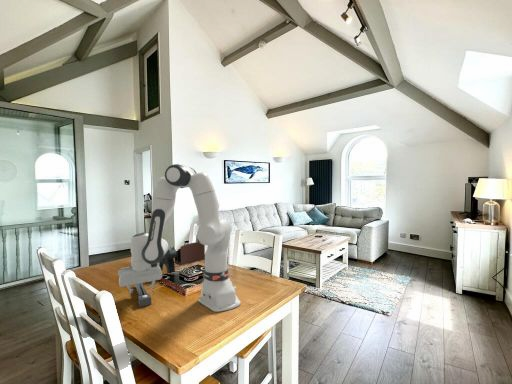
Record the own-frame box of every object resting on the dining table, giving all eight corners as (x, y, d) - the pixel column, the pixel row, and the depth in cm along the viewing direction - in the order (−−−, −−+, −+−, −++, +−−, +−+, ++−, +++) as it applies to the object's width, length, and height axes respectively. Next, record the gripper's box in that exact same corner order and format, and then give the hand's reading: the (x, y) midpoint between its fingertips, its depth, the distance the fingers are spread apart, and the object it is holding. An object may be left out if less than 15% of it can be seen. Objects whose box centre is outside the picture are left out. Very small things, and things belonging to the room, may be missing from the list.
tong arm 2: (147, 299, 129) (147, 293, 128) (144, 300, 128) (144, 294, 128) (141, 284, 147) (141, 279, 147) (138, 285, 147) (138, 279, 146)
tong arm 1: (142, 300, 127) (142, 294, 127) (139, 301, 127) (139, 295, 127) (137, 285, 146) (137, 280, 146) (134, 285, 146) (134, 280, 145)
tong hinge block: (151, 304, 124) (151, 296, 124) (139, 307, 122) (139, 299, 122) (149, 300, 128) (149, 293, 128) (138, 303, 126) (138, 295, 125)
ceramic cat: (177, 275, 164) (177, 243, 163) (168, 277, 159) (167, 245, 158) (162, 267, 177) (162, 238, 177) (153, 270, 173) (152, 240, 172)
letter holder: (205, 259, 197) (204, 240, 196) (180, 265, 183) (180, 245, 182) (198, 256, 204) (197, 238, 203) (174, 262, 190) (173, 243, 190)
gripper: (118, 270, 126) (119, 298, 127) (162, 262, 137) (163, 288, 137) (117, 266, 131) (118, 293, 132) (159, 259, 142) (160, 284, 143)
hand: (141, 291), depth 135 cm, fingers open, 8 cm apart
